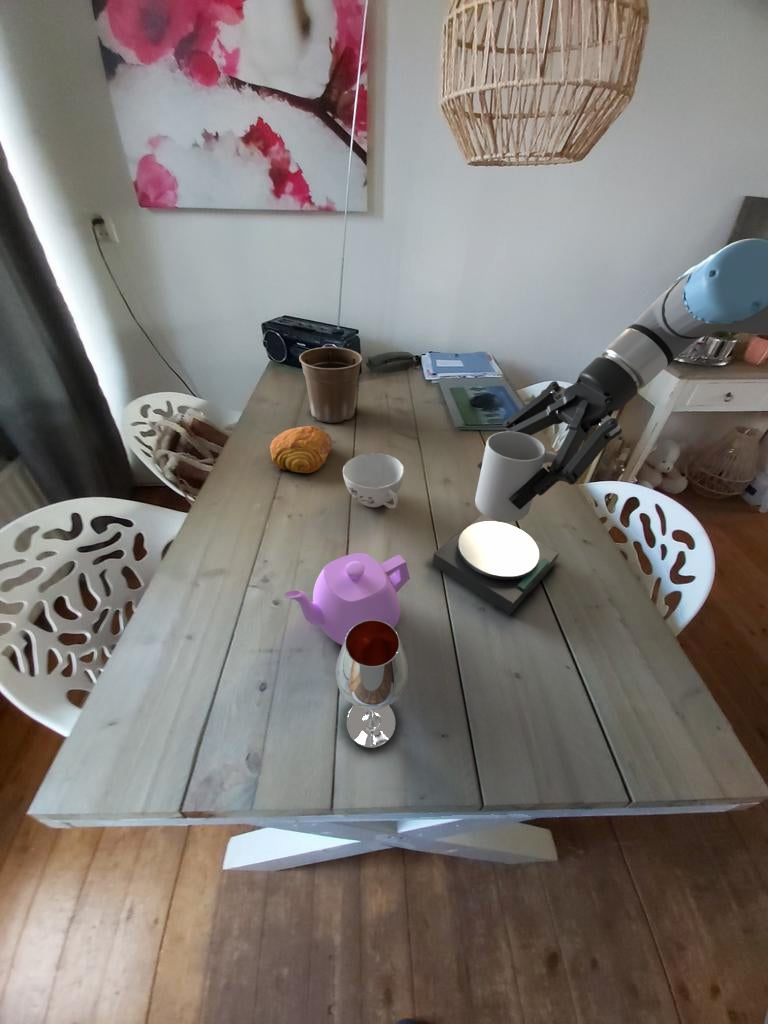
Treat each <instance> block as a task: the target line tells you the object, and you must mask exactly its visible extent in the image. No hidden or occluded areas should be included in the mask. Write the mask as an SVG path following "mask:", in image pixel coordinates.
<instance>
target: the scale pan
mask: <svg viewBox="0 0 768 1024" xmlns="http://www.w3.org/2000/svg"><path fill="white" fill-rule="evenodd" d="M466 527H467V526H466ZM466 527H465V528H466ZM465 528H464V529H465ZM534 540H535V539H534ZM534 540H533V538H532V536H530V535H529V534H528V533H526V532H525V531H524V530H523V529H521V528H519V527H517V526H514V525H512V524H509V523H507V522H502V521H500V522H495V521H485V522H479V523H475V524H473V525H471V526H469V527H467V528H466V529H465V530H464V531H463V532H462V533H461V535H460V537H459V541H458V550H459V553H460V555H461V557H462V559H463V560H464V562H465V563H466V564H467V565H468V566H470V567H471V568H472V569H473V570H475V571H477V572H478V573H480V574H483V575H485V576H488V577H491V578H495V579H501V580H513V579H518V578H522V577H524V576H527V575H528V574H530V573H531V572H532V571H533V570H534V569H535V568H536V566H537V564H538V561H539V550H538V547H537V545H536V543H535V542H534Z"/></svg>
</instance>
